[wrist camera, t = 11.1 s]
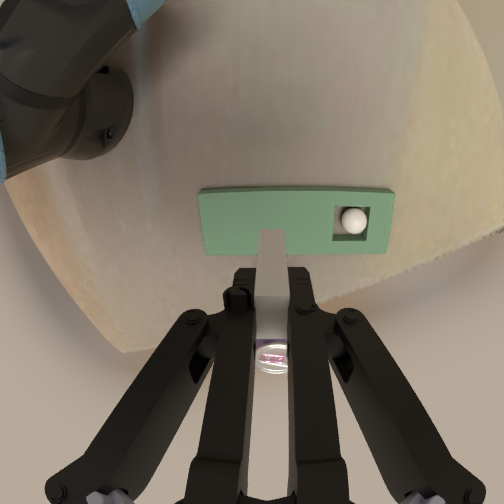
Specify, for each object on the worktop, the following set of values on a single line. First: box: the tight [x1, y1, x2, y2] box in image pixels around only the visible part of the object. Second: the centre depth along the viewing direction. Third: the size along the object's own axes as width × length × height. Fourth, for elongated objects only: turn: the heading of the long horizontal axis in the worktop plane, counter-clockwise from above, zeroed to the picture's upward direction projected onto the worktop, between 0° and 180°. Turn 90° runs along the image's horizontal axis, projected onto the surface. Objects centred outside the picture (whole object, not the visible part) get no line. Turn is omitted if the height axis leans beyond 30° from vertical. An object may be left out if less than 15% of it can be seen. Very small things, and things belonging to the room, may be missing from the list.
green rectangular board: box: [198, 187, 395, 255], centre depth 36 cm, size 26×9×2 cm, turn 93°
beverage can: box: [255, 339, 288, 374], centre depth 36 cm, size 6×6×15 cm
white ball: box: [342, 208, 367, 234], centre depth 34 cm, size 4×4×4 cm
